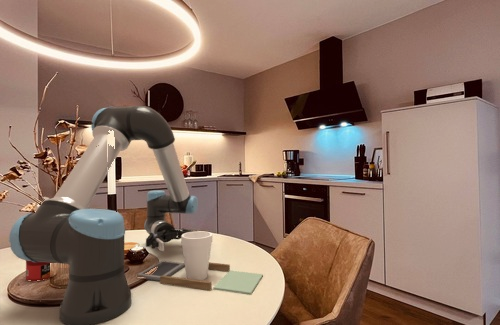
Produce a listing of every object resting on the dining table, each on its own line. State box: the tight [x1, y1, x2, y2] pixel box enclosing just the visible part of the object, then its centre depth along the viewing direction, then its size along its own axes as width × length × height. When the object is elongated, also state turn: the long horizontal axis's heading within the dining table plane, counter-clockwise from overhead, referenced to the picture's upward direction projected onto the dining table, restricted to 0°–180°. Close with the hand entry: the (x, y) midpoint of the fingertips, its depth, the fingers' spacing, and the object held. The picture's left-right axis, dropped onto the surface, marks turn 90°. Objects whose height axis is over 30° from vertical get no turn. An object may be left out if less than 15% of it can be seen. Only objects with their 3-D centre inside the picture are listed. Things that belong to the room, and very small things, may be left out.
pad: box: [212, 269, 264, 296], centre depth 81 cm, size 13×11×1 cm
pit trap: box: [136, 260, 185, 283], centre depth 88 cm, size 13×9×1 cm
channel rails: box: [159, 261, 231, 291], centre depth 85 cm, size 15×16×2 cm
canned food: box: [25, 260, 51, 282], centre depth 85 cm, size 8×8×11 cm
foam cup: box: [180, 230, 213, 281], centre depth 85 cm, size 10×9×13 cm
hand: (182, 243), depth 93 cm, fingers open, 13 cm apart
